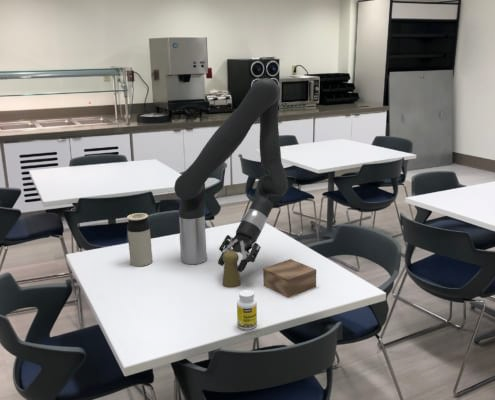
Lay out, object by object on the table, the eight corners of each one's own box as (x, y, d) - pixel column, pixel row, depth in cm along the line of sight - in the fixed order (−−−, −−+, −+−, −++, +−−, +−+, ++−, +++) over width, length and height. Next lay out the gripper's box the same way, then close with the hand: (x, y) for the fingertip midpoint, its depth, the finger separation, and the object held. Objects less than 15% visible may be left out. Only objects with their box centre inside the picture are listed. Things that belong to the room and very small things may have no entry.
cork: (238, 288, 165) (237, 256, 162) (220, 287, 166) (219, 255, 163) (242, 280, 171) (241, 249, 168) (225, 279, 172) (223, 248, 169)
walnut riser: (263, 285, 166) (263, 268, 165) (290, 275, 173) (290, 258, 172) (288, 297, 157) (288, 279, 156) (316, 286, 164) (316, 269, 163)
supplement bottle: (243, 332, 138) (241, 299, 136) (234, 323, 143) (232, 291, 140) (260, 327, 140) (259, 294, 138) (251, 318, 145) (250, 287, 143)
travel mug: (155, 258, 192) (151, 212, 187) (149, 267, 184) (145, 219, 179) (134, 258, 193) (130, 212, 188) (127, 266, 185) (123, 219, 180)
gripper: (230, 216, 173) (207, 257, 168) (262, 223, 164) (239, 268, 159) (241, 227, 179) (219, 267, 173) (273, 235, 169) (251, 278, 164)
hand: (229, 267), depth 166 cm, fingers open, 8 cm apart
